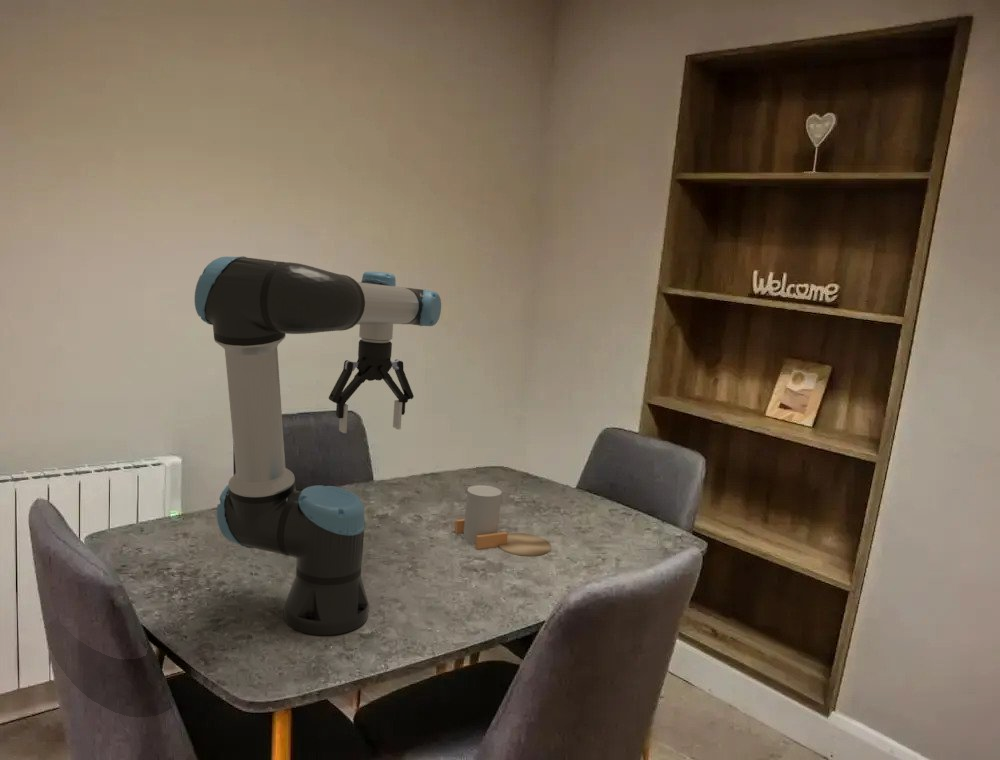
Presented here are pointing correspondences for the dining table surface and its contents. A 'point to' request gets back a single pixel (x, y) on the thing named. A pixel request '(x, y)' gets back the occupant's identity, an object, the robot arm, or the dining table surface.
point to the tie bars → (484, 537)
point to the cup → (481, 512)
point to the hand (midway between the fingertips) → (370, 430)
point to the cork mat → (525, 545)
